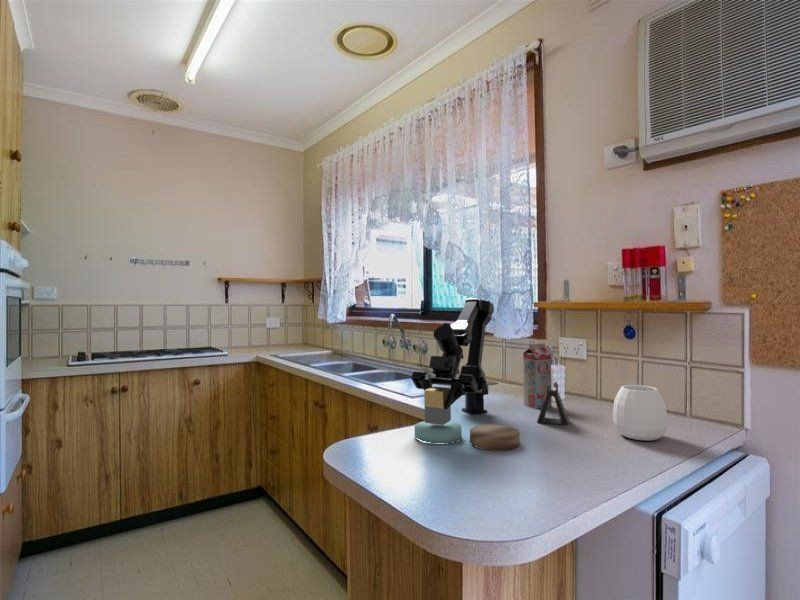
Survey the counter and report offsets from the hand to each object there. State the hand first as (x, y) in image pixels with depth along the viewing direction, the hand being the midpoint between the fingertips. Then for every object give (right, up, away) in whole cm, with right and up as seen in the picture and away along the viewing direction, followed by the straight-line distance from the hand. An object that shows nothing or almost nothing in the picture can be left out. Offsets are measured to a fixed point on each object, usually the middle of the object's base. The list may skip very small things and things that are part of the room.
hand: (435, 407), depth 124 cm
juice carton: (+39, -8, +35) cm, 53 cm away
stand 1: (+1, -9, +1) cm, 9 cm away
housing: (+1, -4, +1) cm, 4 cm away
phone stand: (+37, -8, +15) cm, 41 cm away
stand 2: (+15, -8, -4) cm, 18 cm away
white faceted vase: (+56, -8, -1) cm, 56 cm away
